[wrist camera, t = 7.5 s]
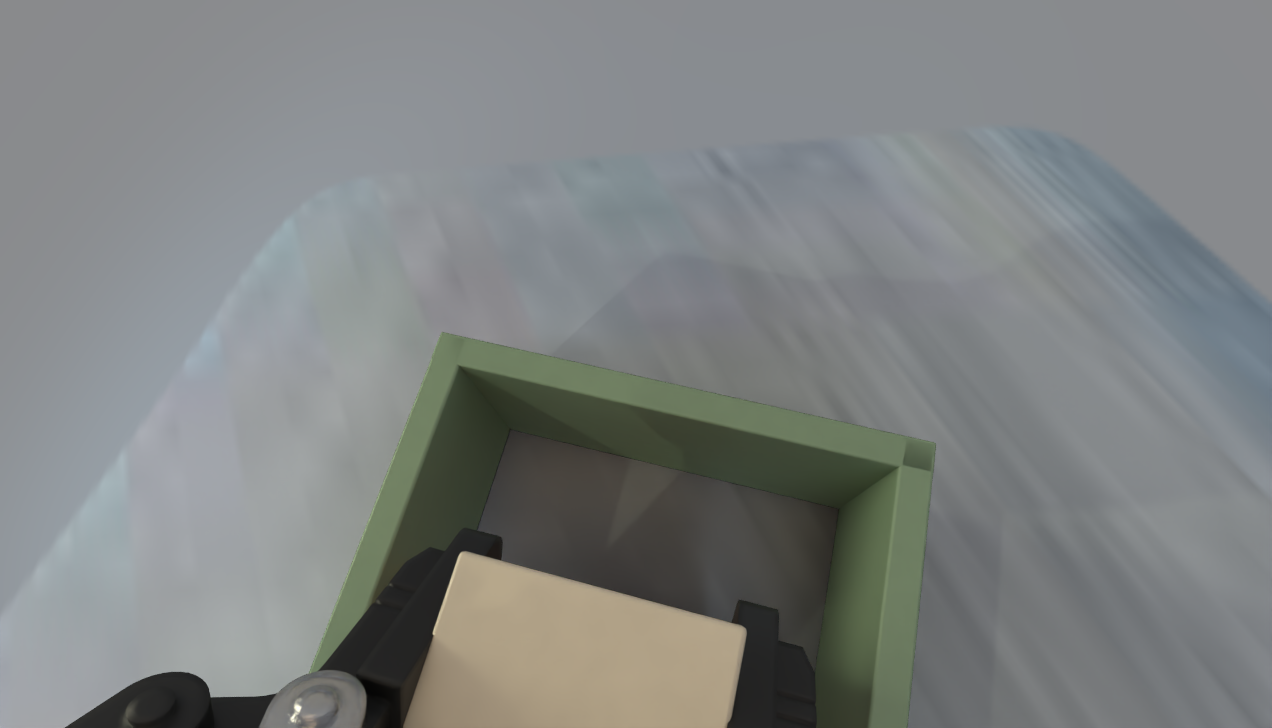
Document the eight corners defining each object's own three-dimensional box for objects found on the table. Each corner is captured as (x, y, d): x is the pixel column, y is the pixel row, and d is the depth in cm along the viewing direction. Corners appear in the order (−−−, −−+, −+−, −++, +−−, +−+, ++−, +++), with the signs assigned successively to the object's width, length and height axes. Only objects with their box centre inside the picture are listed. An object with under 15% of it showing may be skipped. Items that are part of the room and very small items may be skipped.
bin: (867, 490, 21) (937, 442, 16) (789, 1070, 16) (851, 1298, 11) (496, 402, 23) (440, 331, 18) (322, 904, 18) (167, 1027, 13)
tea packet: (710, 628, 20) (748, 627, 10) (679, 781, 19) (687, 964, 9) (564, 588, 21) (459, 549, 11) (523, 733, 19) (356, 850, 9)
